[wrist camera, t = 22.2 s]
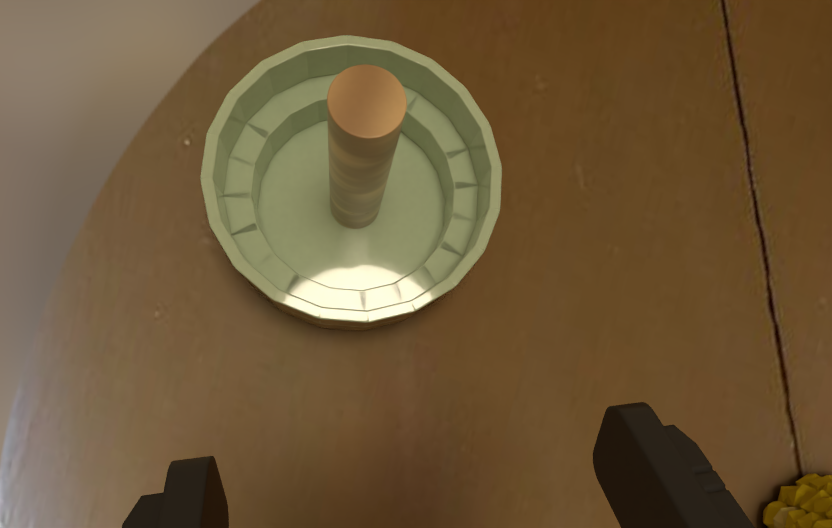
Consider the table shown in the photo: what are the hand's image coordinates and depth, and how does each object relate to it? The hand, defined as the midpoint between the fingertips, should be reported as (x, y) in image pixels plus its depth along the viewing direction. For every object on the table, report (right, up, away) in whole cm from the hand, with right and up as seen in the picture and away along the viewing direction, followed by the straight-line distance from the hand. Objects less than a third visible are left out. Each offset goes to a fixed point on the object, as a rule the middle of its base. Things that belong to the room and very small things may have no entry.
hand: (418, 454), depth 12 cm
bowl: (-4, +7, +24) cm, 25 cm away
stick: (-4, +8, +23) cm, 25 cm away
